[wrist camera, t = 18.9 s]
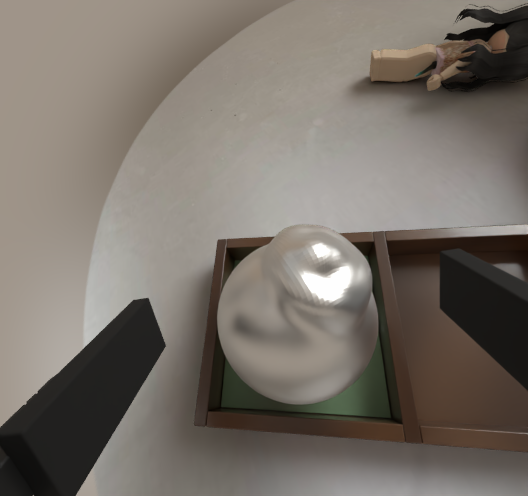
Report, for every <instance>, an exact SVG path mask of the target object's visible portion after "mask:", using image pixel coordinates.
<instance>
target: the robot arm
mask: <svg viewBox="0 0 528 496" xmlns="http://www.w3.org/2000/svg"><path fill="white" fill-rule="evenodd" d="M440 309H441V310H442V311H443V312H444V313H445V314H446V315H447V316H448V317H449V318H450V319H452V320H453V321H454V322H455V323H456V324H457V325H458V326H459V327H460V328H461V329H462V330H463V331H464V332H465V333H466V334H468V335H469V336H470V337H471V338H472V339H473V340H474V341H475V342H476V343H477V344H478V345H479V346H480V347H481V348H483V349H484V350H485V351H486V352H487V353H488V354H489V355H490V356H491V357H492V358H493V359H494V360H495V361H496V362H498V363H499V364H500V365H501V366H502V367H503V368H504V369H505V370H506V371H507V372H508V373H509V374H510V375H511V376H512V377H514V378H515V379H516V380H517V381H518V382H519V383H520V384H521V385H522V386H523V387H524V388H525V389H526V390H527V391H528V283H527V282H525V281H523V280H521V279H519V278H517V277H515V276H513V275H511V274H509V273H507V272H505V271H503V270H501V269H499V268H497V267H495V266H493V265H491V264H489V263H487V262H485V261H483V260H481V259H479V258H477V257H475V256H473V255H471V254H469V253H467V252H465V251H463V250H461V249H459V248H458V249H452V250H446V251H440ZM165 347H166V345H165V342H164V339H163V337H162V334H161V331H160V328H159V326H158V323H157V320H156V318H155V315H154V312H153V309H152V307H151V304H150V301H149V299H148V298H144V299H138V300H133V301H132V302H131V303H130V304H129V305H128V306H127V307H126V308H125V309H124V310H123V311H122V312H121V313H120V314H119V315H118V316H117V317H116V318H115V319H113V320H112V321H111V322H110V323H109V324H108V325H107V326H106V327H105V328H104V329H103V330H102V331H101V332H100V333H99V334H98V335H97V336H96V337H95V338H94V339H93V340H92V341H91V342H90V343H89V344H88V345H87V346H86V347H85V348H84V349H83V350H82V351H81V352H80V353H79V354H78V355H77V356H75V357H74V358H73V359H72V360H71V361H70V362H69V363H68V364H67V365H66V366H65V367H64V368H63V369H62V370H61V371H60V372H59V373H58V374H57V375H55V376H54V377H53V378H51V379H50V380H49V381H48V382H47V383H46V384H45V385H44V386H43V387H42V388H41V389H40V390H39V391H38V393H37V394H34V395H33V396H32V398H30V399H29V400H28V401H27V404H26V405H23V406H22V407H21V408H20V409H19V410H18V411H17V412H16V413H15V414H14V415H13V416H12V417H11V418H10V419H9V420H8V421H6V422H5V423H4V424H3V425H2V426H1V427H0V496H33V495H34V496H76V494H77V492H78V491H79V489H80V487H81V485H82V484H83V482H84V481H85V479H86V477H87V476H88V474H89V473H90V471H91V469H92V468H93V466H94V464H95V463H96V461H97V459H98V458H99V456H100V454H101V453H102V451H103V449H104V448H105V446H106V444H107V443H108V441H109V439H110V438H111V436H112V434H113V433H114V431H115V429H116V428H117V426H118V425H119V423H120V421H121V420H122V418H123V416H124V415H125V413H126V411H127V410H128V408H129V406H130V405H131V403H132V401H133V400H134V398H135V396H136V395H137V393H138V391H139V390H140V388H141V386H142V385H143V383H144V381H145V380H146V378H147V376H148V375H149V373H150V371H151V370H152V368H153V366H154V365H155V363H156V362H157V360H158V358H159V357H160V355H161V353H162V352H163V350H164V348H165Z"/></svg>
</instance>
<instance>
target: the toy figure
mask: <svg viewBox="0 0 528 496" xmlns="http://www.w3.org/2000/svg"><path fill="white" fill-rule="evenodd" d="M527 4H528V3H527ZM469 5H471V4H469ZM523 5H525V4H523ZM474 6H475V5H474ZM521 6H522V5H521ZM476 7H478V6H476ZM483 7H485V6H483ZM489 7H490V6H489ZM518 7H519V6H518ZM491 8H492V7H491ZM515 8H516V7H515ZM493 9H494V8H493ZM512 9H513V8H512ZM495 10H496V9H495ZM509 10H510V9H509ZM497 11H498V10H497ZM505 11H506V10H505ZM460 15H463V16H462V18H461V19H460V20H462V19H463V18H465V17H469V16H471V17H472V18H474V19H477V20H479V21H481V22H484V23H489V22H490V23H495V24H493V25H492V26H490V27H487V28H475V29H470V30H467V31H465V32H463V33H460V34H458V35H457V34H451V33H448V34H447V36H446V38H445V39H448V40H452V41H450V42H447V43H444V44H441V45H438V46H434V45H433V44H425V45H421V46H418V47H415V48H412V49H409V50H391V49H383V50H381V51H380V52H379V51H378V50H374V51H372V55H371V65H370V77H371V82H372V81H391V82H402V81H405V82H406V81H409V80H413V79H417V78H421V77H424V76H427V75H429V74H430V73H432V76H431V77H430V78H429V79H428V81H427V88H428V91H432V90H435V89H437V88H438V87H440V86H441V84H442V86H443V87H445V88H447V89H454V88H462V89H473V88H476V87H478V86H480V85H481V84H483V83H485V82H486V81H489V80H518V79H523V78H526V77H528V6H524V7H521V8H518V9H515V10H513V11H510V12H507V13H503V14H498V13H495V12H493V11H491V10H489V9H480V10H476V9H466V10H465V9H464V10H463V11H461V13H460V14H459V15H458V17H459V16H460ZM458 17H457V18H458ZM460 17H461V16H460ZM460 17H459V18H460ZM456 20H457V19H456ZM458 20H459V19H458ZM455 22H456V21H455ZM456 23H457V22H456ZM445 39H444V40H445ZM463 39H464V40H463ZM460 40H463V41H460ZM486 42H488V43H486ZM467 72H472V73H473V74H474V75H475V76H474V77H476V76H477V77H478V79H476V80H474V81H473V82H470V83H463V82H452V83H449V84H446V83H445V84H446V85H445V84H443V83H441V81H442V80H445V79H447V78H449V77H451V76H453V75H455V74H457V73H467ZM474 77H472V78H474ZM472 78H471V79H472ZM525 80H526V79H525ZM521 81H523V80H521ZM491 82H496V81H491ZM517 82H519V81H517ZM487 83H488V82H487ZM510 83H514V82H510ZM485 84H486V83H485ZM482 86H483V85H482ZM480 87H481V86H480ZM477 89H478V88H477ZM475 90H476V89H475ZM449 91H450V90H449ZM455 91H456V90H455ZM461 91H463V90H461ZM473 91H474V90H473ZM467 92H469V91H467Z"/></svg>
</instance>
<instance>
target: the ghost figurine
mask: <svg viewBox="0 0 528 496" xmlns="http://www.w3.org/2000/svg"><path fill="white" fill-rule="evenodd" d="M217 326H218V334H219V339H220V343H221V346H222V349H223V351H224V354H225V356H226V358H227V360H228V362H229V364H230V365H231V367H232V368H233V370H234V371H235V372H236V374H237V375H238V376H239V377H240V378H241V379H242V380H243V381H244V382H245V383H246V384H247V385H248V386H249V387H251V388H252V389H253V390H255V391H256V392H258V393H260V394H261V395H263V396H265V397H267V398H270V399H272V400H275V401H278V402H282V403H287V404H296V405H304V404H313V403H318V402H322V401H325V400H328V399H330V398H333V397H335V396H337V395H338V394H340V393H342V392H343V391H345V390H346V389H347V388H349V387H350V386H351V385H352V384H353V383H354V382H355V381H356V380H357V379H358V378H359V377H360V376H361V374H362V373H363V372H364V370H365V369H366V367H367V366H368V364H369V362H370V360H371V358H372V355H373V353H374V350H375V346H376V342H377V336H378V312H377V307H376V302H375V299H374V296H373V293H372V272H371V269H370V266H369V264H368V262H367V260H366V258H365V257H364V256H363V254H362V253H361V252H360V251H359V250H358V249H357V248H356V247H355V246H354V245H353V244H352V243H351V242H349V241H348V240H347V239H346V238H345V237H343V236H342V235H340V234H339V233H337V232H335V231H334V230H331V229H329V228H326V227H323V226H317V225H294V226H290V227H288V228H285V229H284V230H282V231H281V232H279V233H278V234H277V235H276V236H275V237H274V238H273V239H272V241H271V242H270V243H269V244H267V245H265V246H263V247H260V248H259V249H257V250H255V251H253V252H252V253H251V254H249V255H248V256H247V257H245V258H244V259H243V260H242V261H241V262H240V263H239V264H238V265H237V266H236V268H235V269H234V270H233V271H232V273H231V274H230V276H229V278H228V279H227V281H226V283H225V285H224V288H223V290H222V293H221V296H220V300H219V305H218V313H217Z"/></svg>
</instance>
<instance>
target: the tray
mask: <svg viewBox="0 0 528 496" xmlns="http://www.w3.org/2000/svg"><path fill="white" fill-rule="evenodd" d="M339 234H340V235H342V236H343V237H345V238H346V239H347V240H348V241H349V242H351V243H352V244H353V245H354V246H355V247H356V248H357V249H358V250H359V251H360V252H361V253H362V254H363V256H364V257H365V258H366V260H367V262H368V264H369V266H370V269H371V272H372V293H373V296H374V299H375V302H376V307H377V312H378V336H377V342H376V346H375V350H374V353H373V355H372V358H371V360H370V362H369V364H368V366H367V367H366V369H365V370H364V372H363V373H362V374H361V376H360V377H359V378H358V379H357V380H356V381H355V382H354V383H353V384H352V385H351V386H350V387H349V388H347V389H346V390H345V391H343V392H342V393H340V394H338V395H337V396H335V397H333V398H330V399H328V400H325V401H322V402H318V403H313V404H304V405H296V404H287V403H282V402H278V401H275V400H272V399H270V398H267V397H265V396H263V395H261V394H260V393H258V392H256V391H255V390H253V389H252V388H251V387H249V386H248V385H247V384H246V383H245V382H244V381H243V380H242V379H241V378H240V377H239V376H238V375H237V374H236V372H235V371H234V370H233V368H232V367H231V365H230V364H229V362H228V360H227V358H226V356H225V354H224V351H223V349H222V346H221V343H220V339H219V334H218V326H217V313H218V305H219V300H220V296H221V293H222V290H223V288H224V285H225V283H226V281H227V279H228V278H229V276H230V274H231V273H232V271H233V270H234V269H235V268H236V266H237V265H238V264H239V263H240V262H241V261H242V260H243V259H244V258H245V257H247V256H248V255H249V254H251V253H252V252H253V251H255V250H257V249H259V248H260V247H263V246H265V245H267V244H269V243H270V242H271V241H272V239H273V238H274V237H259V238H239V239H222V240H218V242H217V250H216V258H215V265H214V273H213V281H212V288H211V296H210V304H209V311H208V319H207V327H206V334H205V342H204V350H203V357H202V365H201V373H200V381H199V388H198V396H197V404H196V411H195V419H194V426H202V427H205V426H207V427H214V428H226V429H239V430H252V431H264V432H277V433H290V434H302V435H315V436H328V437H340V438H353V439H366V440H378V441H391V442H406V443H416V444H422V443H423V444H429V445H442V446H454V447H467V448H480V449H492V450H505V451H518V452H528V391H527V390H526V389H525V388H524V387H523V386H522V385H521V384H520V383H519V382H518V381H517V380H516V379H515V378H514V377H512V376H511V375H510V374H509V373H508V372H507V371H506V370H505V369H504V368H503V367H502V366H501V365H500V364H499V363H498V362H496V361H495V360H494V359H493V358H492V357H491V356H490V355H489V354H488V353H487V352H486V351H485V350H484V349H483V348H481V347H480V346H479V345H478V344H477V343H476V342H475V341H474V340H473V339H472V338H471V337H470V336H469V335H468V334H466V333H465V332H464V331H463V330H462V329H461V328H460V327H459V326H458V325H457V324H456V323H455V322H454V321H453V320H452V319H450V318H449V317H448V316H447V315H446V314H445V313H444V312H443V311H442V310H441V309H440V251H446V250H452V249H458V248H459V249H461V250H463V251H465V252H467V253H469V254H471V255H473V256H475V257H477V258H479V259H481V260H483V261H485V262H487V263H489V264H491V265H493V266H495V267H497V268H499V269H501V270H503V271H505V272H507V273H509V274H511V275H513V276H515V277H517V278H519V279H521V280H523V281H525V282H527V283H528V224H520V225H500V226H480V227H460V228H440V229H420V230H400V231H385V232H384V231H379V232H373V233H372V232H359V233H339Z"/></svg>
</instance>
